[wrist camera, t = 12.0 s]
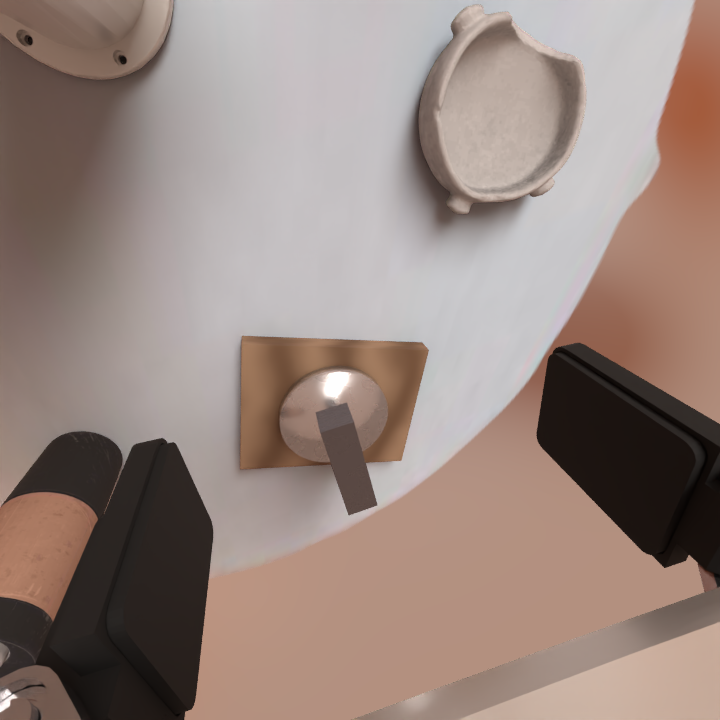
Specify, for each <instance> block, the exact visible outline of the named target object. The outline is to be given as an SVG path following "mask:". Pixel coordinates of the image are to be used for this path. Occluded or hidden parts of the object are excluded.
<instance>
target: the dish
mask: <svg viewBox="0 0 720 720" xmlns="http://www.w3.org/2000/svg"><path fill="white" fill-rule="evenodd" d="M451 30H452V32H453V39H452V40H451V41H450V43H449V44H448V45H447V46H446V48H445V49H444V50H443V52H442V53H441V54H440V56H439V57H438V59H437V60H436V62H435V63H434V65H433V67H432V69H431V71H430V73H429V75H428V78H427V80H426V83H425V86H424V89H423V93H422V97H421V101H420V109H419V135H420V142H421V147H422V151H423V153H424V156H425V159H426V161H427V163H428V165H429V168H430V170H431V171H432V173H433V175H434V176H435V178H436V179H437V180H438V182H439V183H440V184H441V185H442V186H443V187H444V188H445V189H446V190H448V191H449V192H450V196H449V197H448V199H447V201H446V205H447V206H448V207H449V208H450V209H451V210H452V211H453V212H454V213H456V214H468V213H469V210H470V207H471V205H472V203H481V202H505V201H510V200H515V199H518V198H521V197H523V196H525V195H527V194H530V196H532V197H536V196H540V195H543V194H544V193H546V192H547V191H548V190H550V189H551V188H552V187H553V185H554V183H555V182H554V179H553V178H552V177H553V176H554V175H555V174H556V173H557V172H558V171H559V170H560V169H561V168H562V167H563V165H564V164H565V162H566V161H567V160H568V158H569V156H570V154H571V153H572V151H573V148H574V146H575V144H576V141H577V139H578V136H579V133H580V130H581V126H582V122H583V118H584V113H585V106H586V85H585V73H584V68H583V64H582V62H581V60H579V59H578V58H576V57H575V56H573V55H570V54H566V53H561V52H558V51H556V50H554V49H553V48H550V47H548V46H546V45H544V44H542V43H540V42H538V41H537V40H535V39H533V38H532V37H531V36H530V35H529V34H528V33H526V32H525V31H523V30H522V29H521V28H520V27H518V26H517V25H516V23H515V22H514V21H513V20H512V16H511V15H510V13H509V12H498V13H493V14H484V9H483V6H482V5H472V6H468V7H466V8H464V9H463V10H462V11H461V12H459V13H458V15H457V16H456V17H455V19H454V20H453V22H452V24H451Z"/></svg>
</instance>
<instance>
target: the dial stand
mask: <svg viewBox="0 0 720 720" xmlns="http://www.w3.org/2000/svg"><path fill="white" fill-rule="evenodd" d="M428 351H429V350H428V349H427V348H426V346H425V345H424V344H423V343H420V342H392V341H365V340H338V339H311V338H283V337H256V336H242V348H241V443H240V469H255V468H274V467H292V466H311V465H330V464H331V463H330V462H316V461H312V460H308V459H305V458H303V457H301V456H299V455H297V454H296V453H295V452H293V451H292V450H291V449H290V448H289V447H288V446H287V444H286V443H285V441H284V439H283V437H282V434H281V430H280V421H279V411H280V406H281V403H282V400H283V398H284V396H285V394H286V393H287V391H288V390H289V388H290V387H291V386H292V385H293V384H294V383H295V382H296V381H297V380H299V379H300V378H301V377H303V376H304V375H306V374H308V373H310V372H312V371H314V370H317V369H320V368H324V367H329V366H349V367H353V368H356V369H359V370H362V371H363V372H365V373H367V374H368V375H370V376H371V377H372V378H373V379H374V380H375V381H376V382H377V383H378V385H379V386H380V388H381V390H382V392H383V394H384V396H385V398H386V401H387V406H388V417H387V421H386V425H385V427H384V429H383V431H382V433H381V434H380V436H379V437H378V439H377V440H376V441H375V442H374V443H373V444H372V445H371V446H370V447H368V448H367V449H366V450H364V451H363V456H364V459H365V463H367V462H385V461H401V460H402V456H403V452H404V448H405V444H406V440H407V435H408V431H409V427H410V423H411V419H412V415H413V411H414V407H415V403H416V399H417V395H418V391H419V387H420V383H421V379H422V375H423V371H424V367H425V363H426V359H427V355H428Z"/></svg>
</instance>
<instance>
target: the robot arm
mask: <svg viewBox="0 0 720 720" xmlns="http://www.w3.org/2000/svg"><path fill="white" fill-rule="evenodd" d="M173 5H174V0H0V33H1V34H2V35H3V36H4V37H5V38H7V39H8V40H9V41H10V42H11V43H12V44H13V45H15V46H16V47H17V48H19V49H20V50H22V51H23V52H25V53H26V54H28V55H29V56H31V57H32V58H34V59H35V60H37V61H39V62H41V63H43V64H45V65H47V66H49V67H51V68H54V69H56V70H58V71H61V72H64V73H67V74H69V75H72V76H77V77H82V78H87V79H92V80H96V79H114V78H118V77H123V76H127V75H129V74H131V73H133V72H135V71H137V70H138V69H140V68H142V67H143V66H144V65H145V64H147V63H148V62H149V61H150V60H151V59H152V58H153V57H154V56H155V55H156V53H157V52H158V50H159V48H160V47H161V45H162V44H163V42H164V40H165V37H166V35H167V32H168V29H169V27H170V24H171V18H172V12H173ZM28 37H32V39H33V44H32V45H29V44H28V41H27V39H28ZM122 56H124V57H126V60H127V63H126V64H122V63H121V62H120V58H121V57H122ZM537 439H538V442H539V444H540V446H541V447H542V448H543V449H544V450H545V451H546V452H547V453H548V454H549V455H550V457H552V459H553V460H554V461H555V462H556V463H557V464H558V465H559V466H560V467H561V468H562V469H563V470H564V471H565V472H566V473H567V474H568V475H569V476H570V477H571V478H572V479H573V480H574V481H575V482H576V483H577V484H578V485H579V486H580V487H581V488H582V489H583V490H584V492H585V493H586V494H587V495H588V496H589V497H590V498H591V499H592V500H593V501H594V502H595V503H596V504H597V505H598V506H599V507H600V508H601V509H602V510H603V511H604V512H605V513H606V514H607V515H608V516H609V517H610V518H611V519H612V520H613V521H614V522H615V524H617V525H618V527H619V528H621V530H622V531H623V532H624V533H625V534H626V535H627V536H628V537H629V538H630V539H631V540H632V541H633V542H634V543H635V544H636V545H637V546H638V547H639V548H640V549H641V550H642V551H643V552H645V553H646V554H650V555H652V556H653V557H654V558H655V559H656V560H657V561H658V562H659V563H660V564H661V565H662V566H663V567H664V568H666V567H669V566H672V565H675V564H678V563H681V562H683V561H686V559H687V557H688V555H690V556H691V557H692V558H693V559H694V560H696V561H697V562H698V567H699V571H700V575H701V579H702V584H703V587H704V592H705V593H702V594H699V595H696V596H694V597H691V598H688V599H685V600H682V601H679V602H676V603H674V604H671V605H668V606H665V607H662V608H659V609H657V610H654V611H651V612H648V613H645V614H642V615H640V616H637V617H634V618H631V619H628V620H626V621H623V622H620V623H617V624H614V625H612V626H609V627H606V628H603V629H600V630H598V631H595V632H592V633H589V634H587V635H584V636H581V637H578V638H576V639H573V640H570V641H567V642H564V643H562V644H559V645H556V646H553V647H551V648H548V649H545V650H542V651H539V652H537V653H534V654H531V655H528V656H526V657H523V658H520V659H517V660H514V661H512V662H509V663H506V664H503V665H500V666H498V667H495V668H492V669H489V670H487V671H484V672H481V673H478V674H476V675H473V676H470V677H467V678H464V679H462V680H459V681H456V682H453V683H451V684H448V685H445V686H443V687H440V688H437V689H434V690H432V691H429V692H426V693H424V694H421V695H418V696H416V697H413V698H410V699H407V700H404V701H402V702H399V703H396V704H393V705H391V706H388V707H385V708H383V709H380V710H377V711H375V712H372V713H369V714H366V715H364V716H361V717H358V718H355V719H353V720H720V424H719V423H717V422H715V421H713V420H712V419H710V418H708V417H707V416H705V415H703V414H702V413H700V412H698V411H696V410H695V409H693V408H691V407H690V406H688V405H686V404H684V403H683V402H681V401H679V400H678V399H676V398H674V397H672V396H671V395H669V394H667V393H666V392H664V391H662V390H661V389H659V388H657V387H655V386H654V385H652V384H650V383H649V382H647V381H645V380H644V379H642V378H640V377H638V376H637V375H635V374H633V373H632V372H630V371H628V370H626V369H625V368H623V367H621V366H620V365H618V364H616V363H615V362H613V361H611V360H609V359H608V358H606V357H604V356H602V355H601V354H599V353H597V352H596V351H594V350H592V349H591V348H589V347H587V346H586V345H584V344H581V343H574V344H570V345H566V346H561V347H558V348H556V349H555V350H554V351H553V354H552V355H550V356H549V358H548V363H547V369H546V376H545V382H544V389H543V395H542V402H541V409H540V415H539V421H538V428H537ZM212 543H213V526H212V522H211V519H210V517H209V515H208V512H207V510H206V508H205V506H204V504H203V502H202V499H201V497H200V495H199V493H198V491H197V488H196V486H195V484H194V482H193V480H192V478H191V475H190V473H189V471H188V469H187V467H186V464H185V462H184V460H183V458H182V456H181V454H180V451H179V449H178V447H177V445H176V444H175V443H173V442H172V443H167V441H166V440H165V439H163V438H160V439H156V440H151V441H147V442H143V443H138V444H135V445H134V446H133V447H132V449H131V451H130V454H129V456H128V459H127V461H126V463H125V466H124V468H123V471H122V473H121V475H120V478H119V480H118V483H117V485H116V487H115V490H114V492H113V495H112V497H111V499H110V502H109V504H108V507H107V509H106V512H105V514H104V515H102V516H101V517H100V518H99V519H98V520H97V522H96V524H95V525H94V528H93V530H92V532H91V535H90V537H89V539H88V542H87V544H86V546H85V549H84V551H83V553H82V556H81V558H80V560H79V563H78V565H77V567H76V570H75V572H74V574H73V577H72V579H71V581H70V584H69V586H68V588H67V591H66V593H65V595H64V598H63V600H62V602H61V605H60V607H59V609H58V612H57V614H56V616H55V619H54V621H53V623H52V626H51V628H50V630H49V632H48V635H47V637H46V639H45V642H44V644H43V646H42V649H41V651H40V653H39V656H38V658H37V660H36V663H35V665H34V666H29V667H25V668H20V669H18V670H16V671H14V672H12V673H10V674H8V675H6V676H4V677H2V678H0V720H184V717H185V711H188V710H191V709H192V708H193V706H194V703H195V698H196V689H197V681H198V672H199V662H200V653H201V644H202V635H203V626H204V616H205V607H206V598H207V589H208V580H209V571H210V561H211V552H212Z"/></svg>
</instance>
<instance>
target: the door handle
mask: <svg viewBox="0 0 720 720" xmlns="http://www.w3.org/2000/svg"><path fill="white" fill-rule="evenodd" d="M387 417H388V406H387V401H386V398H385V396H384V394H383V392H382V390H381V388H380V386H379V385H378V383H377V382H376V381H375V380H374V379H373V378H372V377H371V376H370V375H368V374H367V373H365V372H363V371H362V370H359V369H356V368H353V367H349V366H329V367H324V368H320V369H317V370H314V371H312V372H310V373H308V374H306V375H304V376H303V377H301V378H300V379H299V380H297V381H296V382H295V383H294V384H293V385H292V386H291V387H290V388H289V390H288V391H287V393H286V394H285V396H284V398H283V400H282V403H281V406H280V411H279V421H280V430H281V434H282V437H283V439H284V441H285V443H286V444H287V446H288V447H289V448H290V449H291V450H292V451H293V452H295V453H296V454H297V455H299V456H301V457H303V458H305V459H308V460H312V461H316V462H330V463H331V466H332V468H333V471H334V474H335V477H336V480H337V483H338V486H339V489H340V492H341V494H342V497H343V500H344V503H345V506H346V509H347V512H348V515H351V514H354V513H357V512H360V511H362V510H365V509H368V508H371V507H374V506H377V502H376V498H375V495H374V491H373V488H372V484H371V480H370V477H369V473H368V470H367V466H366V463H365V459H364V456H363V451H364V450H366V449H367V448H368V447H370V446H371V445H372V444H373V443H374V442H375V441H376V440H377V439H378V437H379V436H380V434H381V433H382V431H383V429H384V427H385V425H386V421H387Z"/></svg>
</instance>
